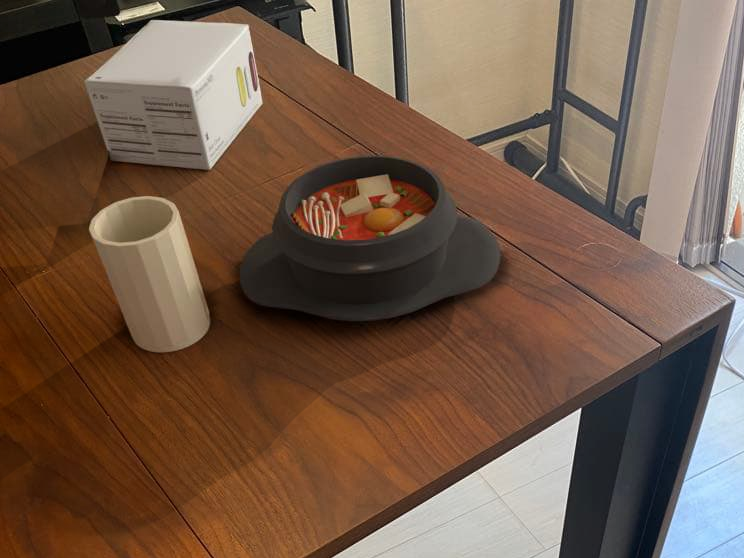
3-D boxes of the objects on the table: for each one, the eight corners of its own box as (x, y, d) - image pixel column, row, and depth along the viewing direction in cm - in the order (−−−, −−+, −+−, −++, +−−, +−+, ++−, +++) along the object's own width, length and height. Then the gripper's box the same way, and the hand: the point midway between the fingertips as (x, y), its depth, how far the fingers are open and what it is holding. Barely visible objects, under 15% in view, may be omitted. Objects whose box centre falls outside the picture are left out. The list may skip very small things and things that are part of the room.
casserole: (235, 349, 76) (213, 268, 69) (249, 234, 87) (231, 155, 81) (511, 326, 75) (515, 243, 69) (489, 213, 87) (490, 133, 80)
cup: (126, 356, 76) (82, 249, 68) (137, 306, 81) (97, 200, 72) (207, 348, 76) (172, 241, 68) (213, 299, 81) (182, 192, 72)
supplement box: (212, 172, 96) (191, 87, 88) (110, 163, 98) (80, 80, 91) (265, 102, 105) (250, 21, 98) (171, 96, 108) (149, 16, 101)
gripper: (-23, -330, 58) (77, -25, 72) (-95, -289, 48) (37, 55, 62) (85, -341, 58) (163, -33, 72) (35, -302, 48) (137, 46, 62)
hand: (104, 5), depth 67 cm, fingers closed
